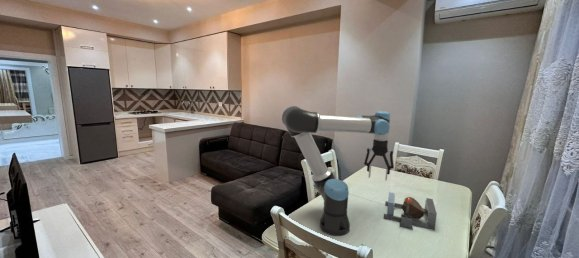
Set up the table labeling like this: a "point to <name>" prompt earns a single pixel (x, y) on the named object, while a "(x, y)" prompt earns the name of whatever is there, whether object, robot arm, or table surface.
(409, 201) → the lever
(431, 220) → the vise frame
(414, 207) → the rock
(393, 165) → the robot arm
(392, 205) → the vise jaw
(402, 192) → the table surface
